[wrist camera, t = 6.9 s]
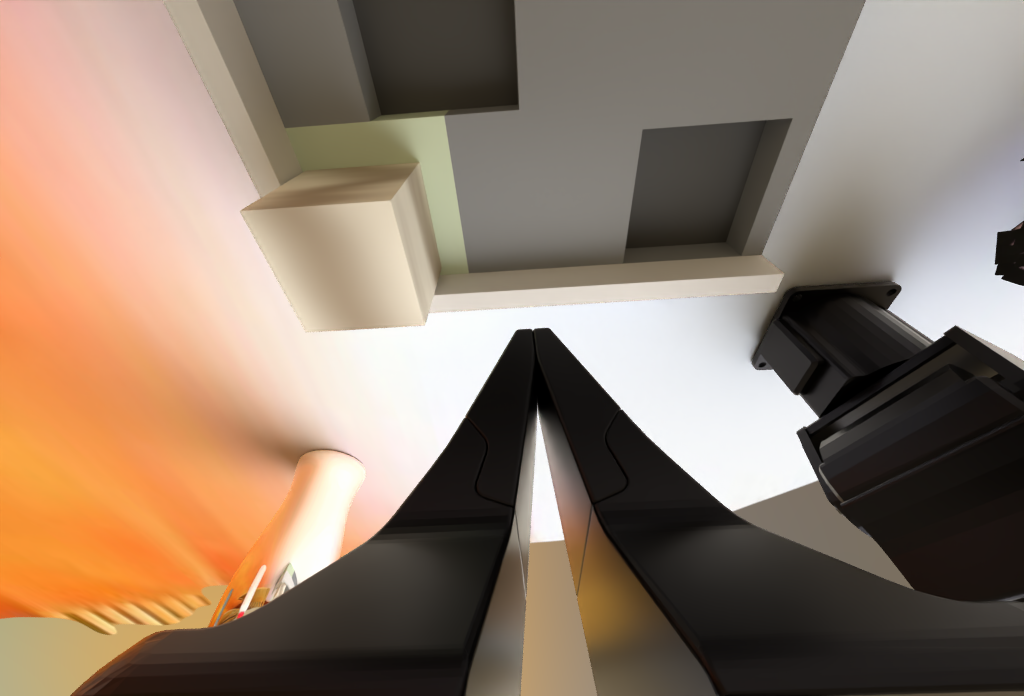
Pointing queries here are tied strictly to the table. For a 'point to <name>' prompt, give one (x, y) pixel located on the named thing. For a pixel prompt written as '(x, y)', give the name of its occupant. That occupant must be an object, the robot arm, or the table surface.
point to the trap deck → (541, 127)
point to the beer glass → (296, 534)
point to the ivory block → (351, 246)
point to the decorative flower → (1011, 254)
